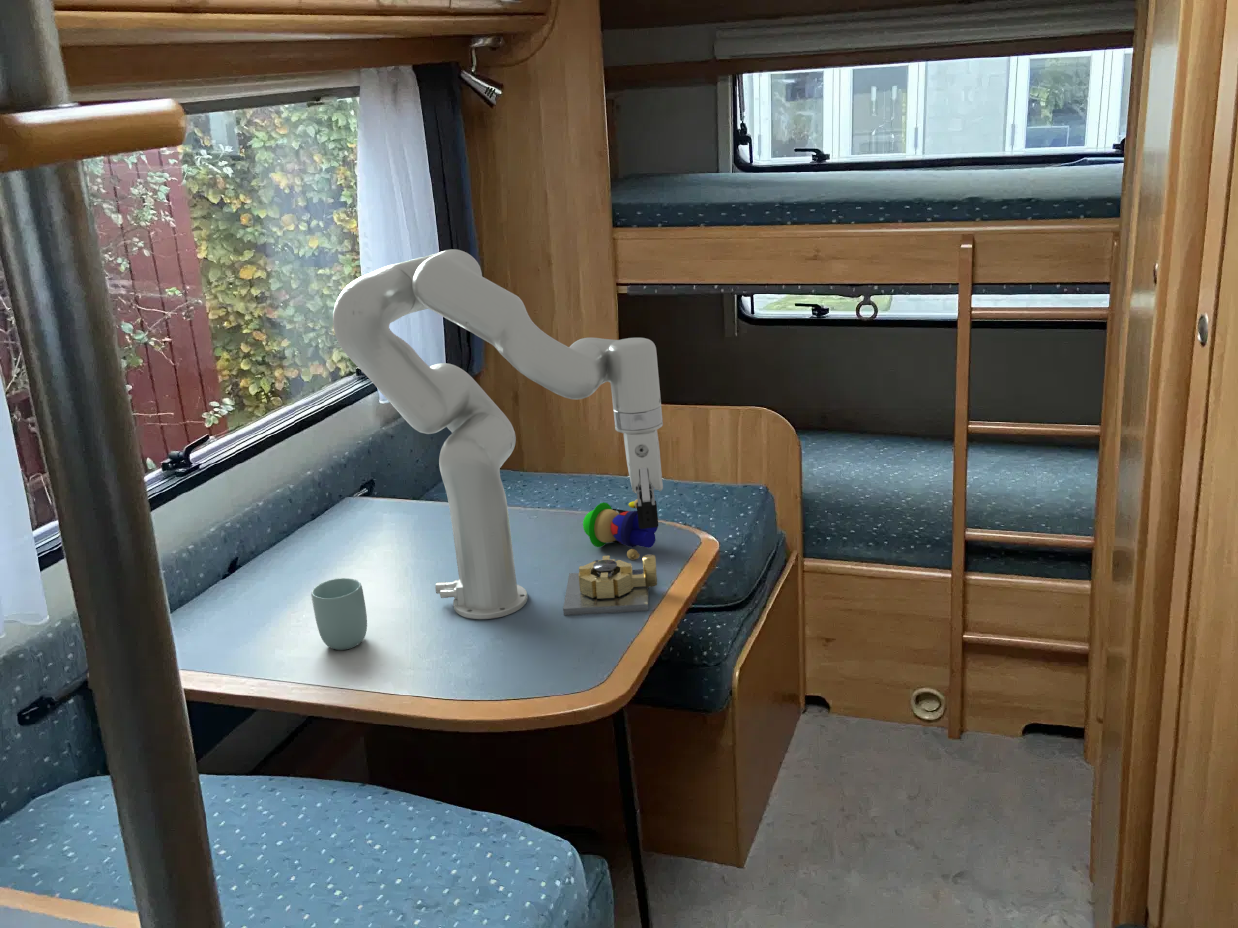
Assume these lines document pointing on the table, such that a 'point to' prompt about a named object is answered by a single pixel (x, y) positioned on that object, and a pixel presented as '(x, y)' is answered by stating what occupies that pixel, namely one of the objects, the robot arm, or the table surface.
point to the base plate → (587, 605)
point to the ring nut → (616, 578)
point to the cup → (340, 612)
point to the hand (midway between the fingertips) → (648, 526)
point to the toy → (617, 528)
